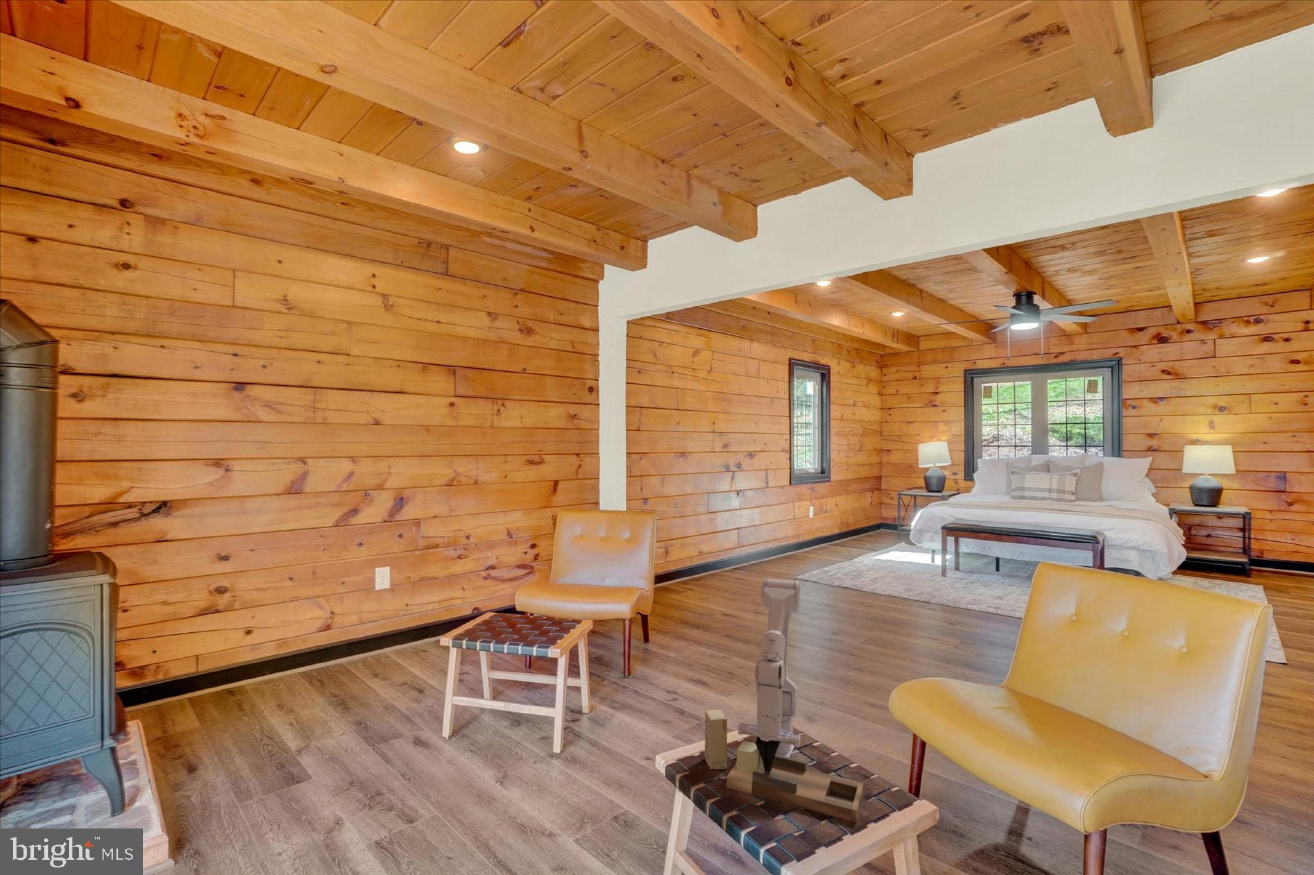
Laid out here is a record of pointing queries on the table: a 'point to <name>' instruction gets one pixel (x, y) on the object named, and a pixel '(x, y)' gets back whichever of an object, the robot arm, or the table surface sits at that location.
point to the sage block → (748, 758)
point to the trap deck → (801, 788)
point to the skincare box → (716, 739)
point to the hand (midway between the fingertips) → (768, 769)
